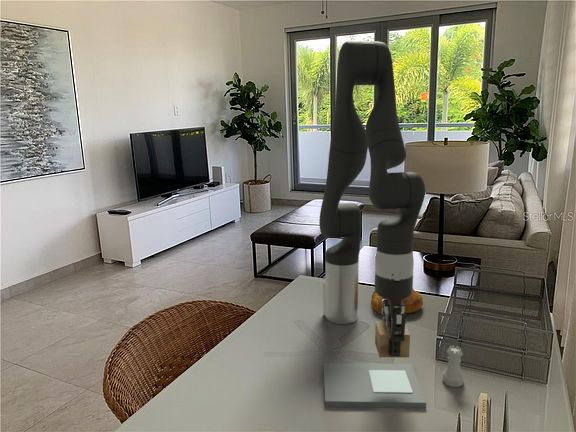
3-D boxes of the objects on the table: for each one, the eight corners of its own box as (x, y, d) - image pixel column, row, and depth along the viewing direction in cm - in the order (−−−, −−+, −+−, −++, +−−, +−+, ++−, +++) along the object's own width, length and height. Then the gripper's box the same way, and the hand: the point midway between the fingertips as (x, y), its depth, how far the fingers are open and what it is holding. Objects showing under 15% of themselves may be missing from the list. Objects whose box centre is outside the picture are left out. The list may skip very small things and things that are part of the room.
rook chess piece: (465, 389, 95) (468, 355, 93) (443, 387, 96) (445, 353, 94) (461, 377, 99) (464, 344, 98) (440, 375, 100) (442, 342, 98)
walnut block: (379, 357, 92) (379, 334, 91) (375, 342, 98) (375, 321, 96) (409, 357, 91) (410, 334, 90) (402, 342, 97) (403, 321, 96)
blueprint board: (325, 406, 90) (325, 400, 90) (323, 367, 104) (323, 362, 104) (426, 407, 89) (426, 401, 89) (410, 368, 103) (411, 363, 103)
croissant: (428, 321, 131) (433, 295, 129) (378, 320, 127) (383, 293, 125) (406, 300, 144) (411, 277, 142) (360, 298, 141) (365, 274, 139)
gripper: (370, 259, 98) (369, 330, 101) (380, 284, 84) (378, 365, 87) (405, 259, 97) (402, 330, 101) (421, 284, 83) (417, 365, 87)
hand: (391, 346), depth 94 cm, fingers closed on walnut block, 6 cm apart
